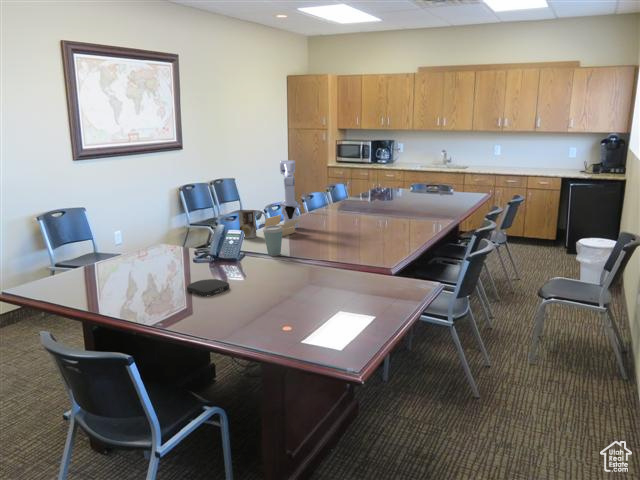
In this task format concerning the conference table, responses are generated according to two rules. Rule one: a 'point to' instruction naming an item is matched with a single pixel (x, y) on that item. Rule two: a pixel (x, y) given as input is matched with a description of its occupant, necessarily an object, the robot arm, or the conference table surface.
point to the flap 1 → (273, 220)
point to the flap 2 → (290, 224)
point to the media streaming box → (208, 287)
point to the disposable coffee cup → (273, 239)
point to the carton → (288, 231)
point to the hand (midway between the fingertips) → (290, 218)
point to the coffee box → (248, 223)
